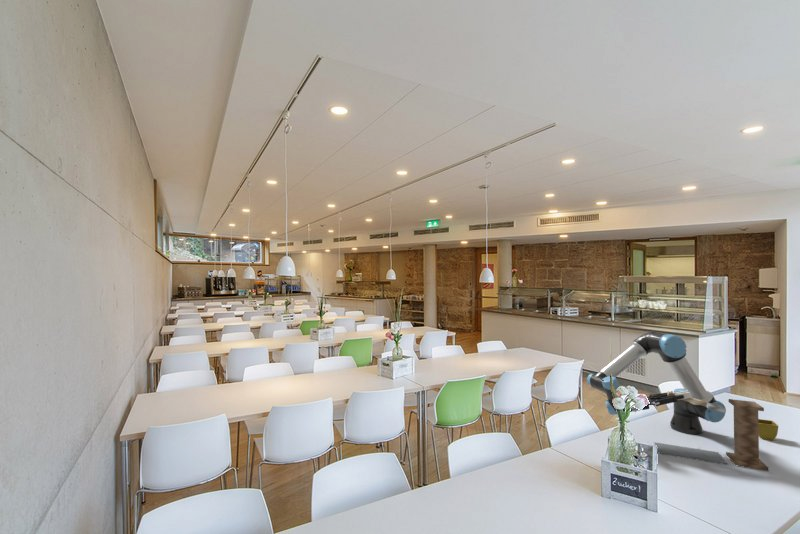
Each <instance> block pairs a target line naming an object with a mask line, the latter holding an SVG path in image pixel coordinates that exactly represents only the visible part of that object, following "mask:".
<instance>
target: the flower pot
mask: <svg viewBox="0 0 800 534" xmlns="http://www.w3.org/2000/svg"><path fill="white" fill-rule="evenodd" d="M758 426H759V438H760V439H761V438H762V439H763V440H769V441H774V440H775V439H776V438H777V436H778V433H779V425H778V424H777V423H776V422H775V421H773V420H769V419H760V418H758ZM762 439H761V440H762Z"/></svg>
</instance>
